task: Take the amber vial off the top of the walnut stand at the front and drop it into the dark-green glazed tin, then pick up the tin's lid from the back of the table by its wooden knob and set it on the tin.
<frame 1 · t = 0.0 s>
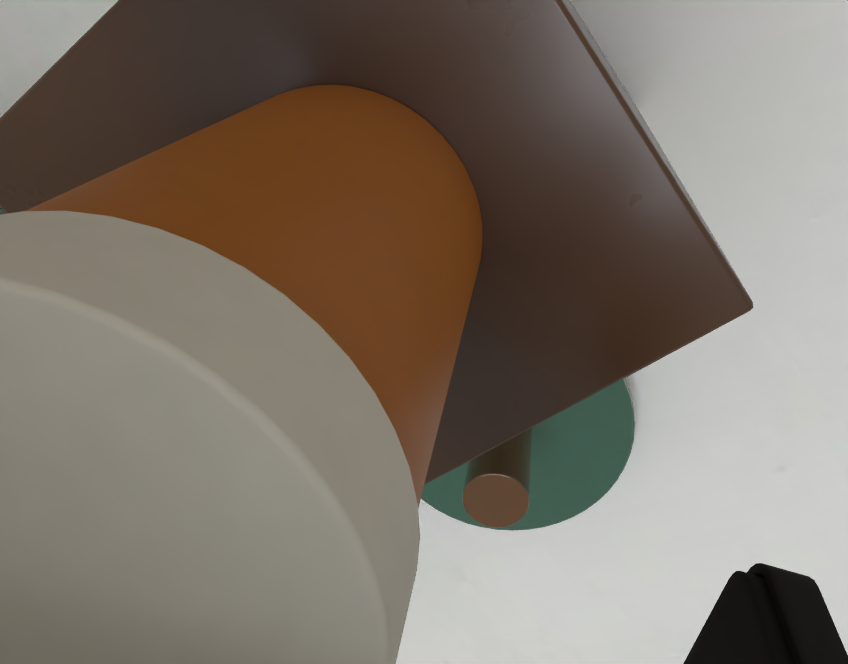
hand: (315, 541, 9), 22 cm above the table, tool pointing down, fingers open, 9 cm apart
vial: (340, 232, 12), point 18 cm above the table, touching stand
stand: (462, 81, 28), on the table
lid: (504, 420, 33), point 1 cm above the table
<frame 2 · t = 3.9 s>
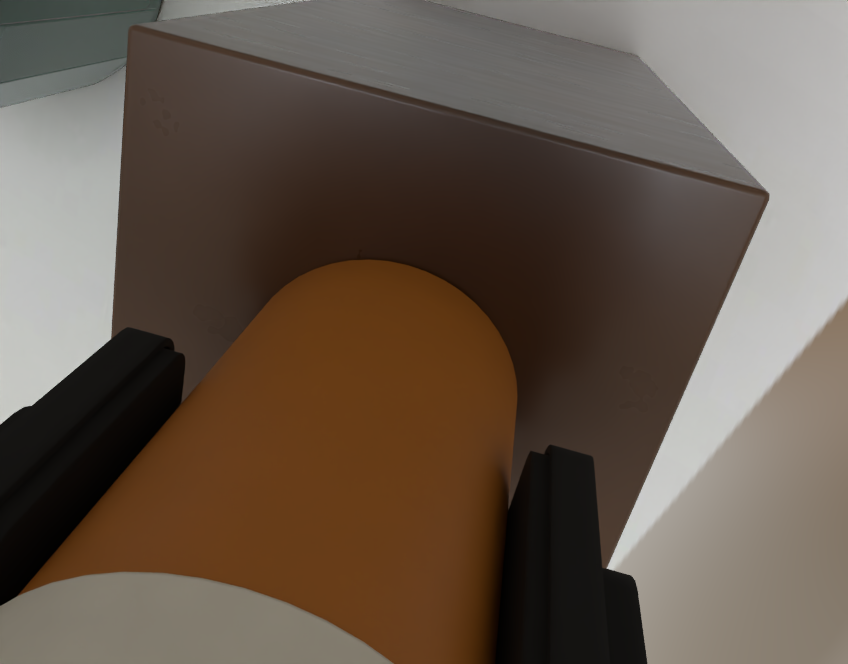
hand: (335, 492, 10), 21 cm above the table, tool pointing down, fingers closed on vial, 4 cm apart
vial: (378, 388, 13), point 18 cm above the table, touching gripper, stand
stand: (477, 151, 29), on the table
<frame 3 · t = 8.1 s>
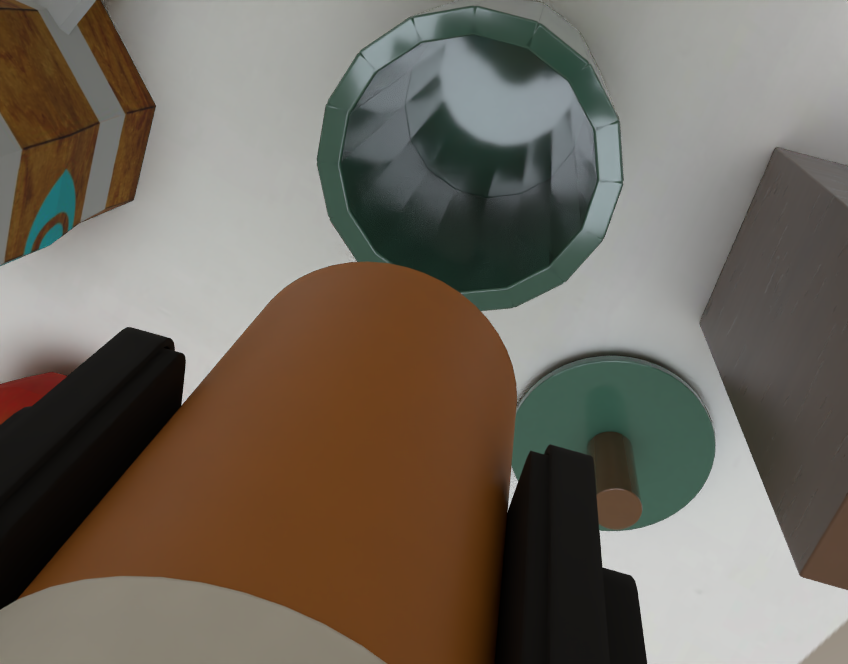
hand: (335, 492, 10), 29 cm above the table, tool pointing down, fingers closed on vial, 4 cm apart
vial: (378, 390, 13), point 26 cm above the table, touching gripper
mug: (62, 57, 38), on the table
stand: (829, 265, 37), on the table
lid: (609, 444, 42), point 1 cm above the table
apple: (86, 421, 48), on the table
tin: (494, 107, 36), on the table
when the fingers open (13 cm above the table, at t = 12.3 s): vial drops 9 cm, resting on tin.
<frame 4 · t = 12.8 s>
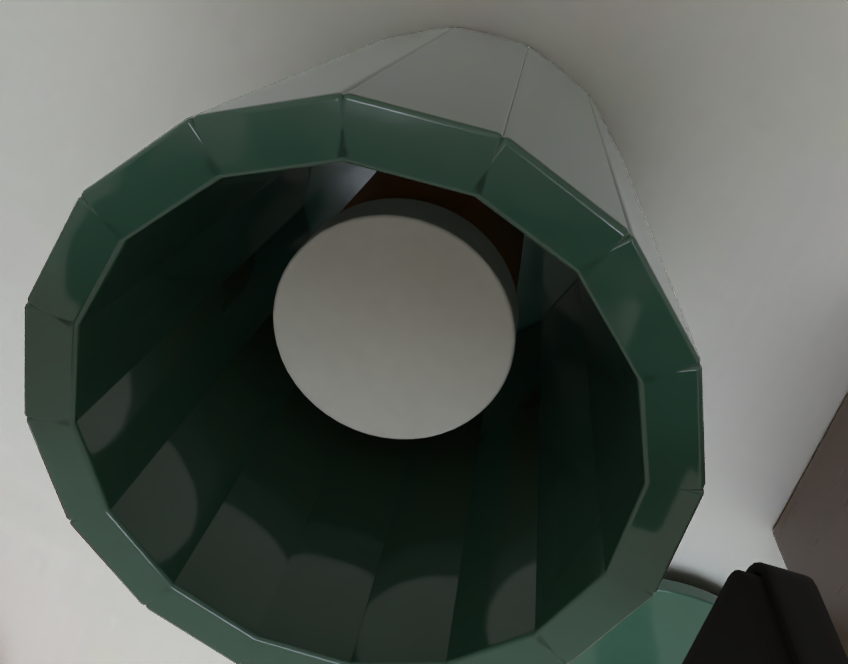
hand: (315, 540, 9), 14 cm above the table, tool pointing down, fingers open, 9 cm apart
vial: (446, 214, 22), point 1 cm above the table, touching tin
tin: (449, 209, 22), on the table
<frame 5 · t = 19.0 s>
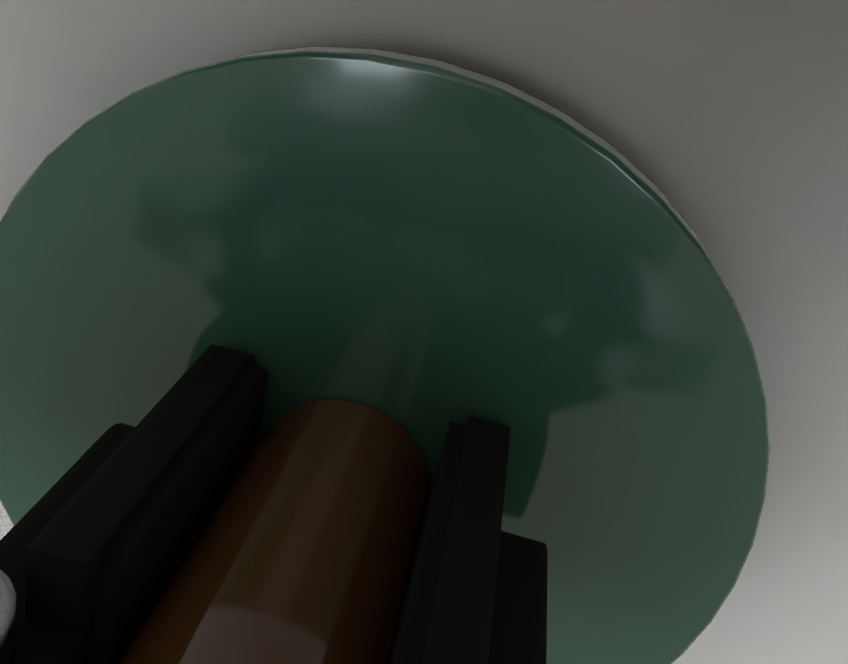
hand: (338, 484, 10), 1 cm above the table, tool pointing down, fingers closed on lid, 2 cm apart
lid: (353, 451, 11), point 1 cm above the table, touching gripper
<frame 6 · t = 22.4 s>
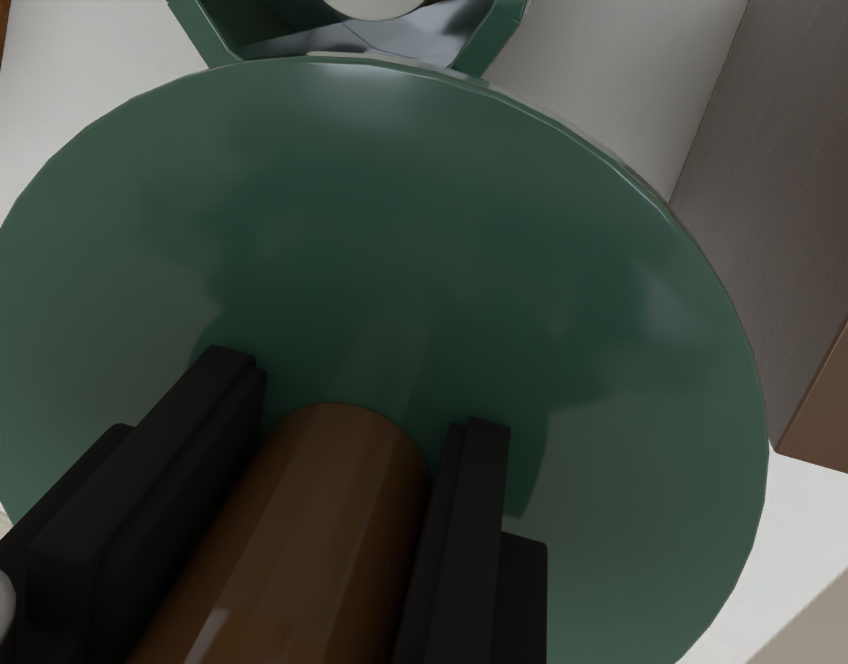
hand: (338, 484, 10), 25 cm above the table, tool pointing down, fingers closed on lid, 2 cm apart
stand: (816, 140, 31), on the table
lid: (353, 454, 11), point 24 cm above the table, touching gripper
when the fingers open (13 cm above the table, at t = 26.1 s): lid stays where it is, resting on tin.
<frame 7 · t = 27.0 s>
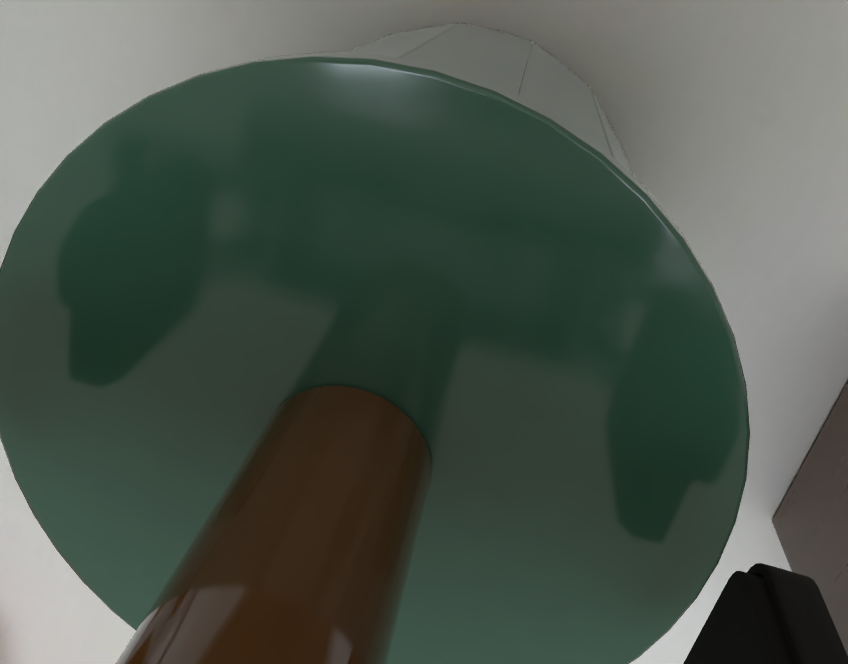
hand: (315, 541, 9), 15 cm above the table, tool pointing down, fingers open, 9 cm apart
lid: (356, 436, 11), point 12 cm above the table, touching tin
tin: (453, 203, 23), on the table
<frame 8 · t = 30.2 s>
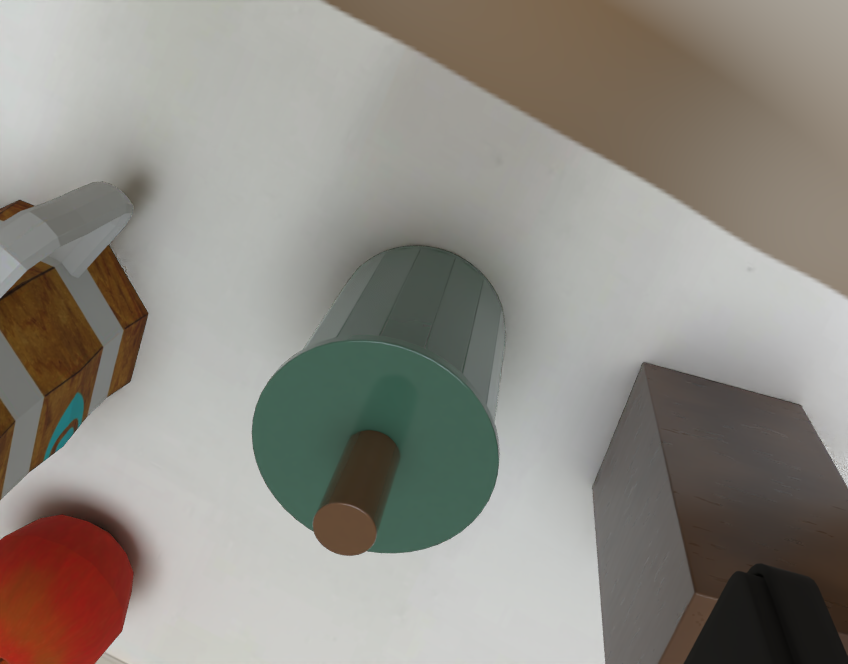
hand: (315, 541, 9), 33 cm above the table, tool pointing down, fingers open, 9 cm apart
mug: (72, 275, 47), on the table
stand: (691, 448, 46), on the table
lid: (375, 446, 34), point 12 cm above the table, touching tin
apple: (91, 547, 56), on the table
tin: (420, 325, 45), on the table
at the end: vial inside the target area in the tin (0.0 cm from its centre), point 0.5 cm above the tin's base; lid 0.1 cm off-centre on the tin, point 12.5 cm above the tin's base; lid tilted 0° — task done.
